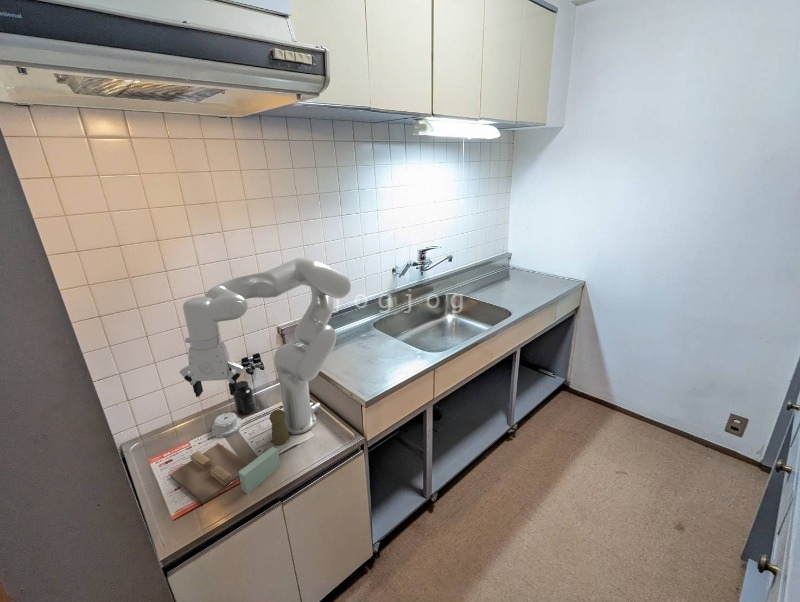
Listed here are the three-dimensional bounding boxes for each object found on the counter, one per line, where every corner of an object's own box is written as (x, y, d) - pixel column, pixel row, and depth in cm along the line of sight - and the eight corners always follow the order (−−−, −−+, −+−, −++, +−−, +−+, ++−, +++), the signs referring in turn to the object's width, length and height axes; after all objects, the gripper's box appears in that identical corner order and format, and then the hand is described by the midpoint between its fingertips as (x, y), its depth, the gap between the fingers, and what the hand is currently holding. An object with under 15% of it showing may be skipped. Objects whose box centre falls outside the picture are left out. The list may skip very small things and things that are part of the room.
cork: (270, 435, 130) (266, 409, 127) (288, 431, 133) (285, 405, 129) (272, 447, 125) (268, 420, 121) (290, 442, 127) (287, 415, 124)
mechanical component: (206, 435, 131) (231, 439, 129) (203, 425, 130) (229, 429, 128) (224, 417, 140) (247, 421, 138) (222, 408, 139) (246, 411, 137)
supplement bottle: (251, 402, 148) (247, 377, 144) (258, 410, 144) (254, 384, 140) (233, 410, 144) (228, 383, 140) (240, 418, 139) (235, 391, 135)
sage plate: (275, 464, 118) (272, 446, 116) (280, 467, 117) (277, 449, 114) (242, 490, 109) (238, 471, 106) (247, 494, 108) (243, 475, 105)
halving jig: (219, 445, 126) (217, 438, 125) (252, 467, 117) (250, 460, 116) (170, 476, 113) (168, 469, 112) (203, 504, 104) (201, 496, 103)
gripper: (166, 348, 99) (180, 402, 105) (233, 346, 100) (243, 399, 106) (180, 336, 106) (191, 387, 112) (242, 334, 107) (250, 385, 113)
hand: (216, 393), depth 109 cm, fingers open, 9 cm apart
